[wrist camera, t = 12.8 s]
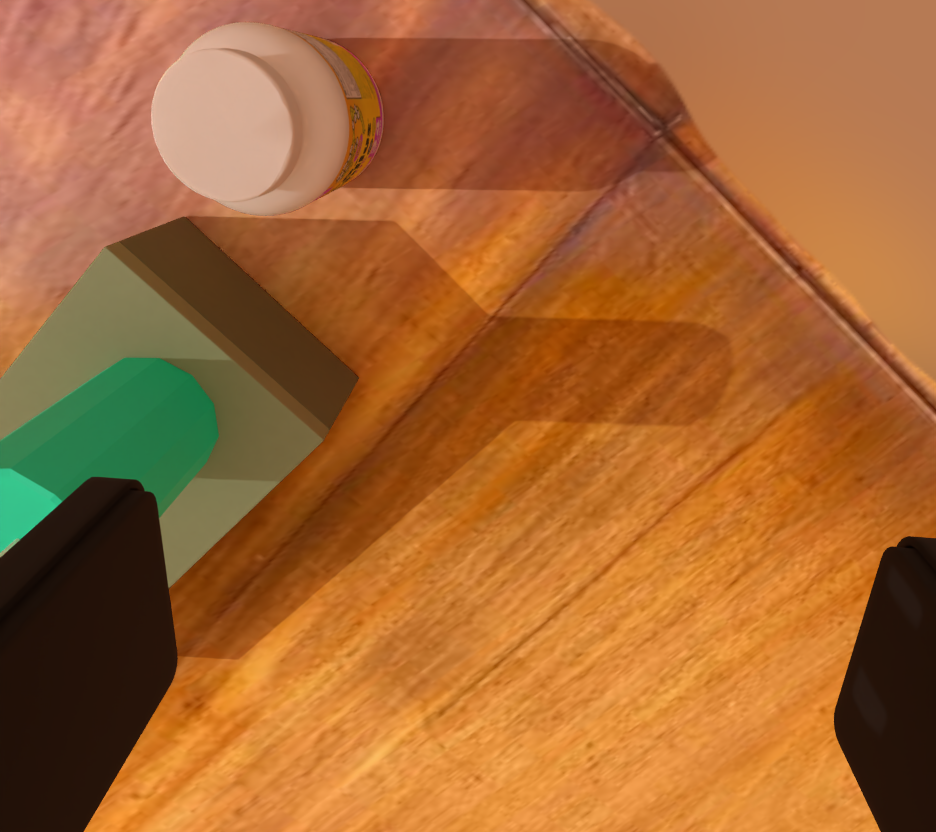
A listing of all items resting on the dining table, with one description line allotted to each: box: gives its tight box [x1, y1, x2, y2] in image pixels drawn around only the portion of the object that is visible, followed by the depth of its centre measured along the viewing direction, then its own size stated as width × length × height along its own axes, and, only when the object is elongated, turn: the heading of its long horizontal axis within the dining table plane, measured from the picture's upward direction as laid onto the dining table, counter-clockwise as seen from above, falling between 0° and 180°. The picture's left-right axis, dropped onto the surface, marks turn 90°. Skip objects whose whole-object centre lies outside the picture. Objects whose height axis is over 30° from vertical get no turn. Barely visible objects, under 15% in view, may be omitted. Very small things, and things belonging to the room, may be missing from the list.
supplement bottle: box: [151, 22, 384, 216], centre depth 31 cm, size 7×7×13 cm
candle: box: [0, 358, 219, 557], centre depth 29 cm, size 6×6×12 cm
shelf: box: [0, 217, 359, 588], centre depth 41 cm, size 28×12×8 cm, turn 135°
